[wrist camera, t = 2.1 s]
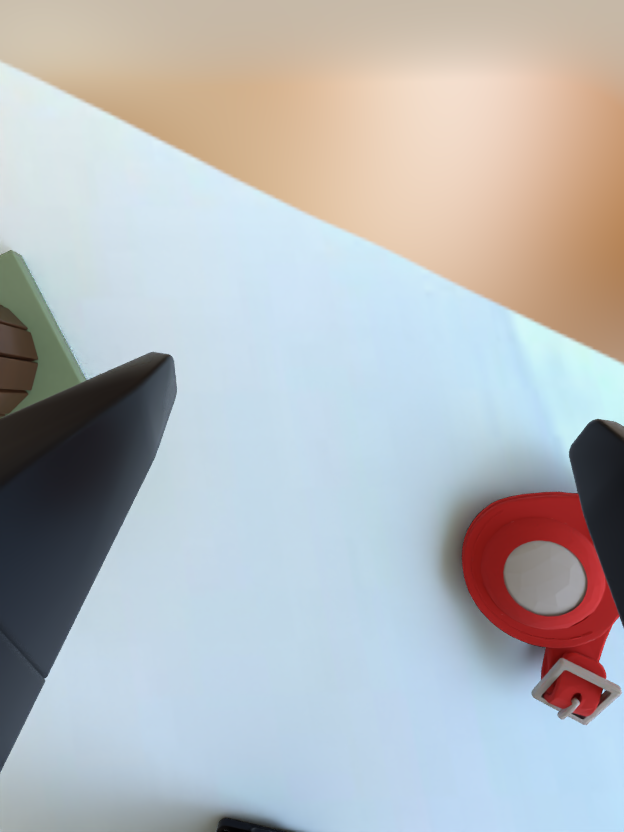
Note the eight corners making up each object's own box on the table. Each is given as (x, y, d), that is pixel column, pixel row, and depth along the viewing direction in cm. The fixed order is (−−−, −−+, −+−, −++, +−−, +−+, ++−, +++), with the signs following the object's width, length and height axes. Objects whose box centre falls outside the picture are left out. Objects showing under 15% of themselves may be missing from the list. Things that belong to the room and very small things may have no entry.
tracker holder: (426, 550, 22) (596, 451, 20) (427, 530, 26) (568, 447, 24) (571, 765, 20) (783, 682, 17) (547, 706, 24) (715, 632, 22)
